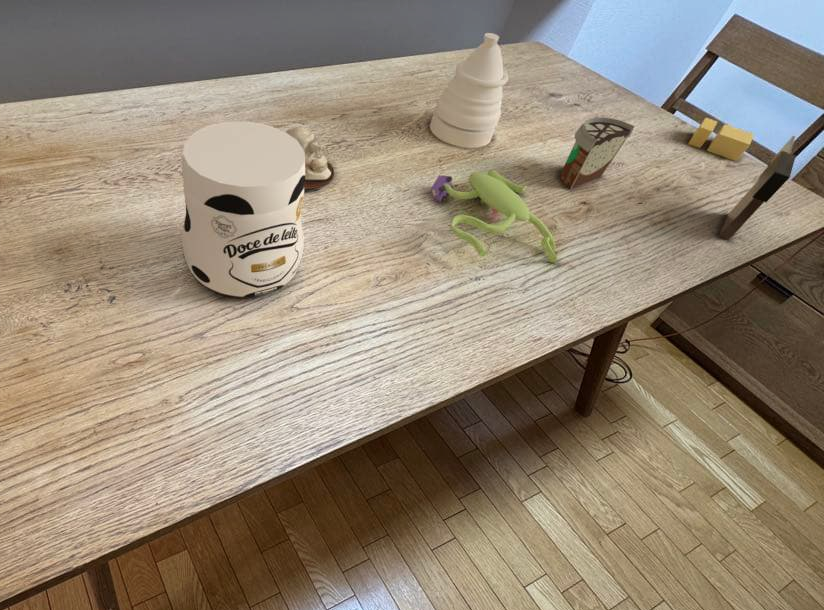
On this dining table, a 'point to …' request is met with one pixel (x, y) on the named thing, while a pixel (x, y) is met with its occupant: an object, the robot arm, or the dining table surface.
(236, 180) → the milk container
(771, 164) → the knife
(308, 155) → the cream carved statuette
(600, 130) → the food container
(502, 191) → the figurine
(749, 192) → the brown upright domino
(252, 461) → the dining table surface
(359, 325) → the dining table surface
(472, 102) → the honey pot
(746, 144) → the butter block
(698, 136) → the block
